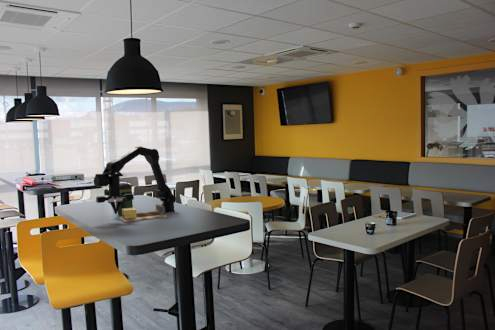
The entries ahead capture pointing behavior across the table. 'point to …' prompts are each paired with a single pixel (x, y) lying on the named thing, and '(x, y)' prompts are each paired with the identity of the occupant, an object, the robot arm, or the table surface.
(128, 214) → the block
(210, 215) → the table surface
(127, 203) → the coffee jar
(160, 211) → the track
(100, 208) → the table surface
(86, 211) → the table surface
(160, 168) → the robot arm
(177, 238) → the table surface
